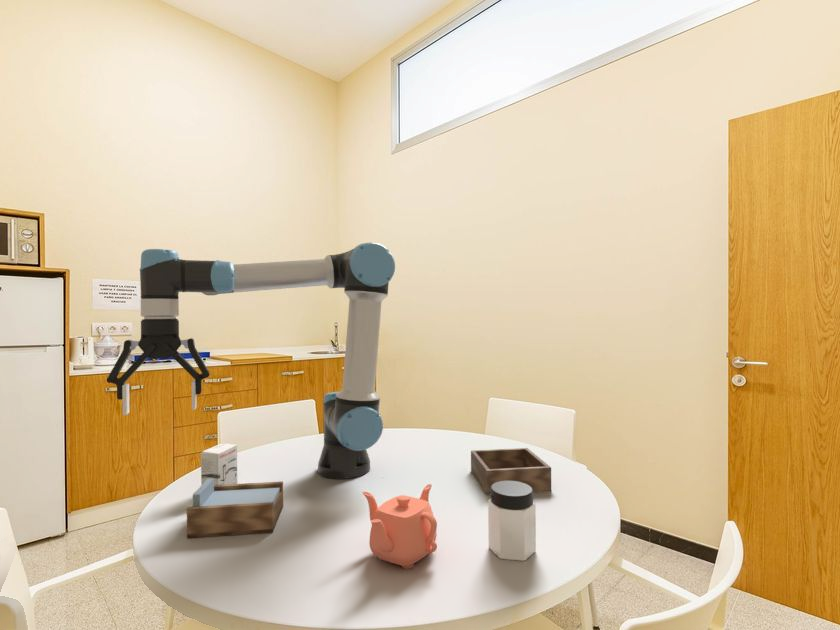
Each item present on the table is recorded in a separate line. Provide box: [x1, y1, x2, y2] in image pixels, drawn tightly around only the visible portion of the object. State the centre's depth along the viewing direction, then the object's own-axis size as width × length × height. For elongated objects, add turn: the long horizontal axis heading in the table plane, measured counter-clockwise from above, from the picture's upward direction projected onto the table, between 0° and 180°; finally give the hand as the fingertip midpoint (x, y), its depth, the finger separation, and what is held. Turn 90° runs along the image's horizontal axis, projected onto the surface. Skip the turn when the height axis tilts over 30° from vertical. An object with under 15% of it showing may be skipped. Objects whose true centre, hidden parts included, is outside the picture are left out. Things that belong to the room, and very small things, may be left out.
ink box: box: [200, 443, 238, 486], centre depth 116 cm, size 9×5×12 cm, turn 168°
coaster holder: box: [470, 447, 552, 495], centre depth 124 cm, size 17×17×6 cm
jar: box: [487, 481, 537, 562], centre depth 88 cm, size 9×8×12 cm
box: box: [186, 481, 284, 539], centre depth 101 cm, size 17×13×6 cm
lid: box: [192, 479, 280, 507], centre depth 101 cm, size 16×10×4 cm, turn 97°
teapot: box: [361, 484, 438, 569], centre depth 86 cm, size 14×14×11 cm
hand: (160, 411), depth 103 cm, fingers open, 13 cm apart
